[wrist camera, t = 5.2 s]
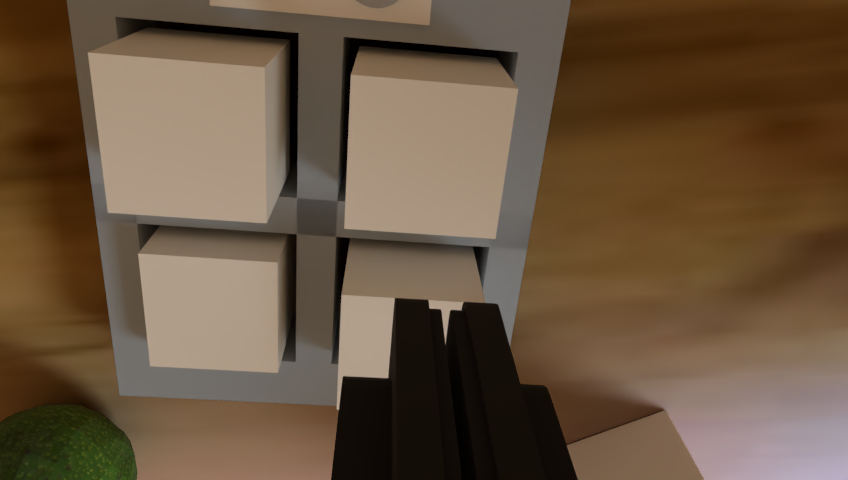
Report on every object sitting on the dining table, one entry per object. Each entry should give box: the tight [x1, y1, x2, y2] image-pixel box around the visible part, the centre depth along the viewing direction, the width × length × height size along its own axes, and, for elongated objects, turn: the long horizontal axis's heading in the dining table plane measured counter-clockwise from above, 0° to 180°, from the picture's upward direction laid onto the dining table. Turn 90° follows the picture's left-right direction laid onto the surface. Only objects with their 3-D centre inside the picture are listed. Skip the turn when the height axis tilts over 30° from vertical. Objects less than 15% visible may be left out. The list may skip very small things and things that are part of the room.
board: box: [67, 0, 571, 406], centre depth 26 cm, size 16×23×4 cm
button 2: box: [138, 225, 296, 373], centre depth 27 cm, size 5×5×5 cm
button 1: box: [88, 27, 290, 223], centre depth 22 cm, size 5×5×5 cm
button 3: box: [344, 46, 518, 239], centre depth 23 cm, size 5×5×5 cm
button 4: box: [336, 238, 485, 410], centre depth 26 cm, size 5×5×5 cm
